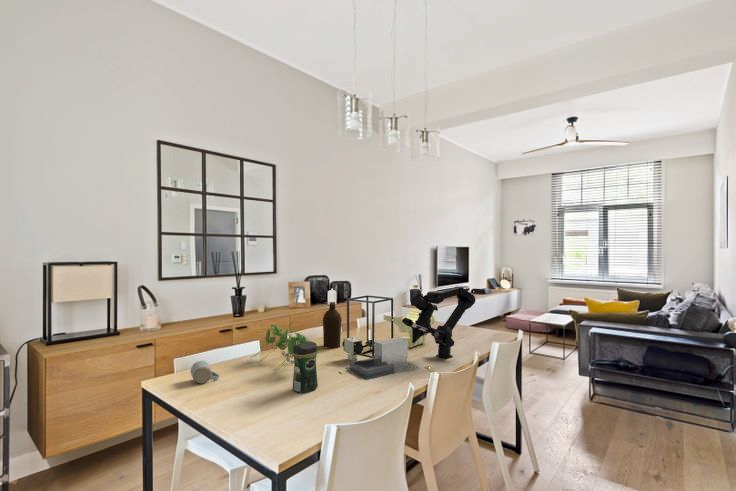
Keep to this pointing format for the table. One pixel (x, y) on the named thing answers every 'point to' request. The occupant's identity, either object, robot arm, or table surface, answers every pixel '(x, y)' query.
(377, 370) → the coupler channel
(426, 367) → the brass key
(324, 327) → the olive oil
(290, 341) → the plant cuttings
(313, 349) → the coffee jar
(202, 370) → the ceramic mug
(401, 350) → the block
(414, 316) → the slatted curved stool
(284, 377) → the table surface
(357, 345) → the pneumatic valve
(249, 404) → the table surface
